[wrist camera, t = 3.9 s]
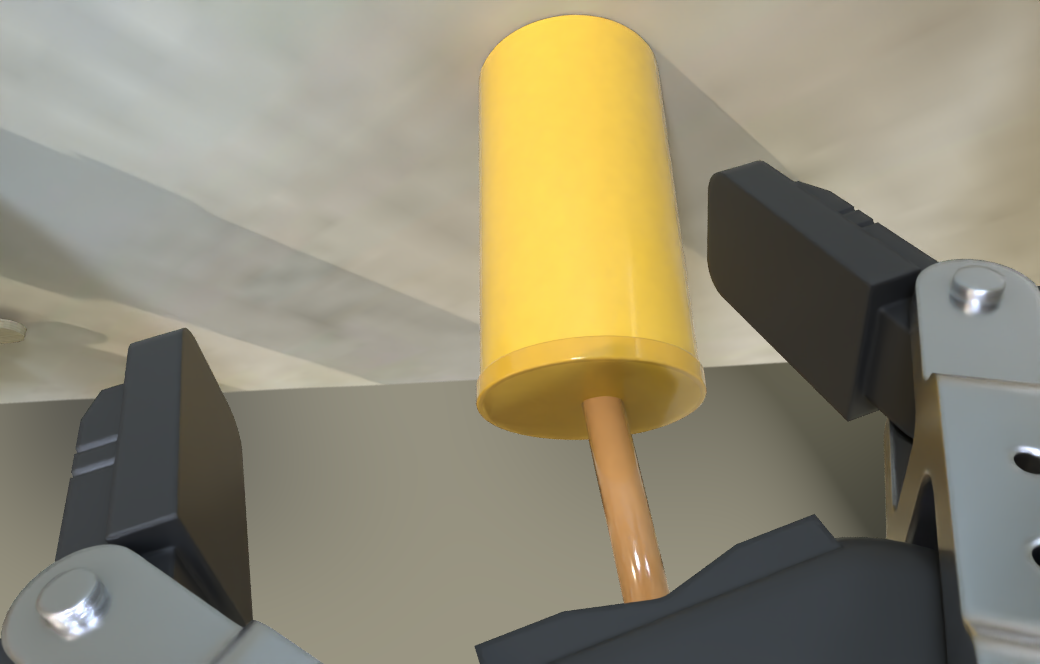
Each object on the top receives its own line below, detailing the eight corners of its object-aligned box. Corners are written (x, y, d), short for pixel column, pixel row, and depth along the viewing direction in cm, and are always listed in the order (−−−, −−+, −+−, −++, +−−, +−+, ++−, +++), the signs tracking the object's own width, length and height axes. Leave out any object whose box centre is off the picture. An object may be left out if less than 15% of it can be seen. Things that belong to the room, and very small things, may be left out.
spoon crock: (489, 152, 28) (498, 863, 19) (460, 22, 23) (452, 925, 14) (656, 137, 28) (750, 860, 18) (667, 0, 22) (808, 923, 13)
